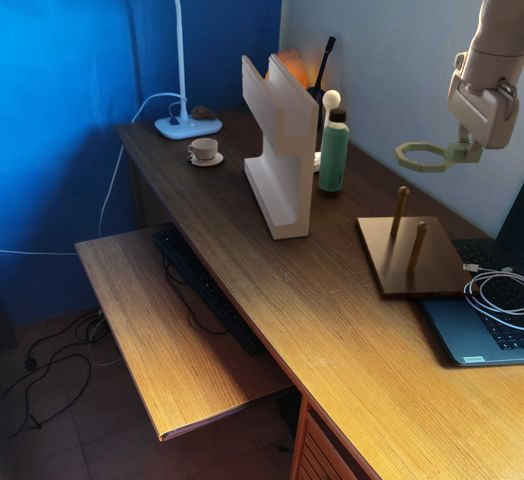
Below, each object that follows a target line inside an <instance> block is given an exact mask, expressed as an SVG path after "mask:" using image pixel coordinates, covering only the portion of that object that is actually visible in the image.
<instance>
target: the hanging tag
mask: <svg viewBox="0 0 524 480" xmlns="http://www.w3.org/2000/svg"><path fill="white" fill-rule="evenodd" d="M471 143H472V142H469V143H456V142H449V143H448V145H447V147H446V146H442V145H438V144H435V143H433V142H427V141H407V142H404V143H402V144H400V145H399V146H397V147H396V148H395V149H394V151H393V157H394V159H395V161H396V163H397V165H398V166H400V167H401V168H402V167H403V168H405V169H408V170H411V171H413V172H417V173H421V174H430V173H432V174H435V173H436V174H438V173H439V174H440V173H445V172H446V171H448V170H449V169H451V168H452V167H453V166H455V164H479V163H480V161H481V157H482V155H483V152H484V148H483V147H482V148H481V149H480V150H479V152H478V155H477V157H476V159H475V160H467V159H466V158H465V157H464V153H465V150H466V147H469V146H470V145H471ZM414 151H415V152H417V151H418V152H419V151H420V152H423V151H425V152H429V153H432V154H435V155H438V156H441V157H442V158H443V161H442V162H433V163H432V162H431V163H430V162H429V163H427V162H420V161H416V160H413V159H411V158H408V157H406V156H405V154H406V153H408V152H414Z"/></svg>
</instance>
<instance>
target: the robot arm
mask: <svg viewBox="0 0 524 480" xmlns="http://www.w3.org/2000/svg"><path fill="white" fill-rule="evenodd" d="M480 7H481V8H480V10H479V17H478V27H477V30H476V32H475V35H474V36H473V38H472V40H471V43H470V45H469V49H468V51H464V52H459V53H457V54H456V55H455V58H454V62H453V67H454V68H455V70H454V71H453V74H452V77H451V81H450V85H449V89H448V94H447V99H446V106H447V107H446V108H447V110H448V111H449V112H450V113H451V114H452V116H454V117H455V118H456V119H457V120H458V124H457V138H456V142H455V143H471V145H470V146H469V147H466V150H465V153H464V157H465V158H466V159H467V160H475V159H476V157H477V155H478V152H479V150H480V149H481V148H483V149H485V150H488V151H489V150H492V151H494V150H503V149H505V148H506V147H507V146H509V144H510V141H511V138H512V135H513V132H514V129H515V126H516V123H517V119H518V116H519V112H520V100H519V97H518V93H517V92H518V88H517V87H516V86H517V85H518V82H519V80H520V77H521V74H522V71H523V69H524V0H482V4H481V6H480ZM470 135H471V140H470Z"/></svg>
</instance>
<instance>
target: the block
mask: <svg viewBox="0 0 524 480" xmlns="http://www.w3.org/2000/svg"><path fill="white" fill-rule="evenodd" d="M268 61H269V62H268V78H263V76H261V74H260V72H259V71H258V69H257V68H256V67H255V66H254V64H253V62H252V61H251V59H250V58H249V57H247V55H241V62H242V63H241V76H242V79H241V80H242V97H243V99H244V100H245V103H246V105H247V106H248V108H249V110H250V111H251V114H252V116H253V117H254V119H255V120H256V122H257V124H258V126H259V128H260V130H261V131H262V133H263V134H262V153H261V155H259V156H257V157H248V158H244V159H243V161H244V173H245V175H246V178H247V180H248V182H249V184H250V187H251V189H252V192H253V194H254V196H255V199H256V201H257V204H258V206H259V208H260V211H261V213H262V215H263V218H264V219H265V222H266V224H267V227H268V229H269V231H270V234H271V236H272V239H273V240H282V239H289V238H290V239H291V238H298V237H299V238H300V237H306V236H309V228H310V215H311V205H312V195H313V194H312V192H313V181H314V172H313V171H314V159H315V153H316V147H317V135H318V124H319V112H320V111H319V110H320V105H319V103H318V102H317V101H316V99H315V98H314V97H313V96H312V95H311V94H310V93H309V92H308V90H307V89H306V88H305V87H304V86H303V85H302V84H301V82H300V81H299V80H298V79H297V77H296V76H295V75H294V74H293V73H292V72H291V71H290V69H289V68H288V67H287V65H285V63H284V62H283V60H282V59H280V57H278V55H277V54H276V53H271V54H270V56H268Z"/></svg>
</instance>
